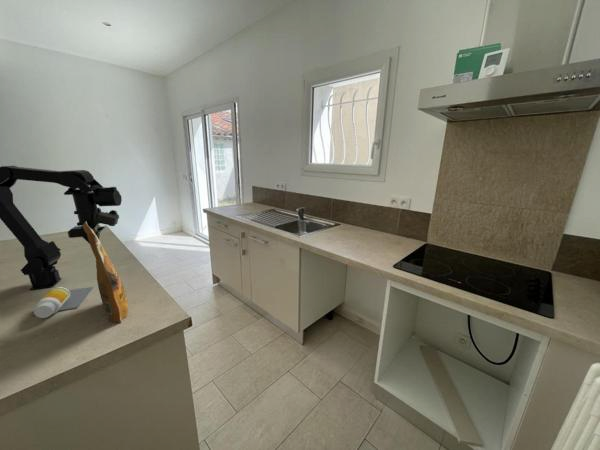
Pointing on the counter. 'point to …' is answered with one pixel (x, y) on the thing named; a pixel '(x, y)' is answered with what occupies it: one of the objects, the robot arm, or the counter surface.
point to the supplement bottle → (51, 302)
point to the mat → (74, 299)
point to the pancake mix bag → (108, 281)
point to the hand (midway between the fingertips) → (96, 247)
